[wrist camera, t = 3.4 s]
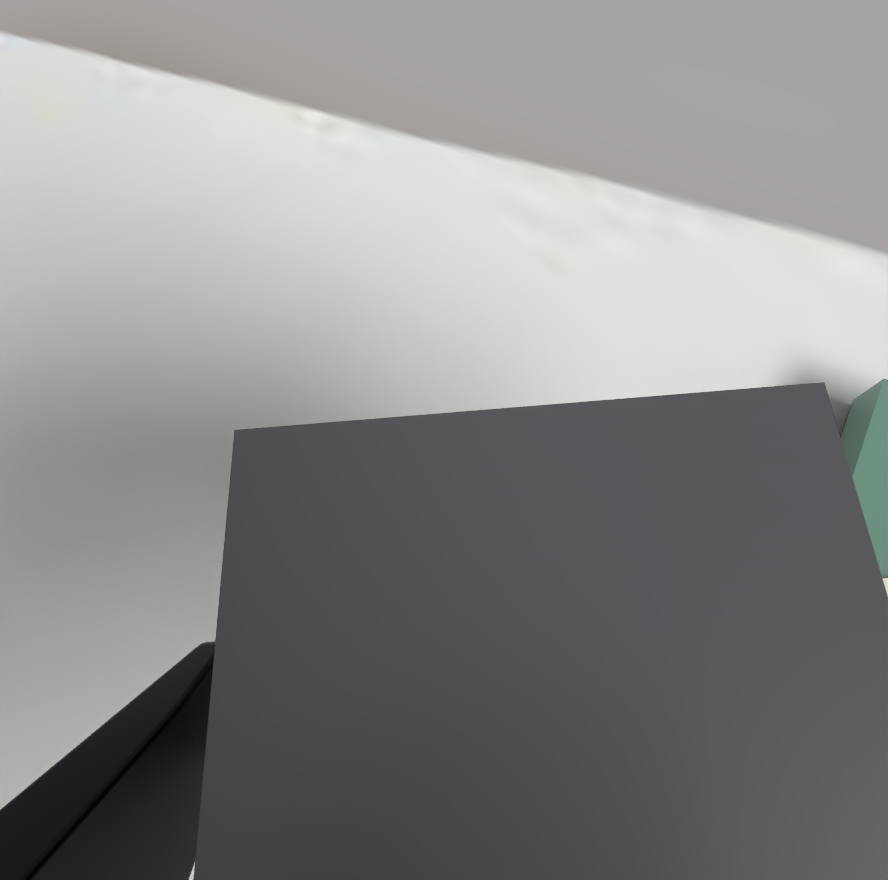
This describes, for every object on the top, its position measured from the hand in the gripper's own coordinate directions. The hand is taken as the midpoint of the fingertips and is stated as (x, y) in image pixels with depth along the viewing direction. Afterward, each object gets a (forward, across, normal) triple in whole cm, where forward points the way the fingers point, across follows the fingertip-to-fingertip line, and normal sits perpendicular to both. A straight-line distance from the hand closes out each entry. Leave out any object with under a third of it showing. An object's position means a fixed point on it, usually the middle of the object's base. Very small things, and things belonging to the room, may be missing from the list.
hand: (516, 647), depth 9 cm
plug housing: (+6, 0, +6) cm, 8 cm away
